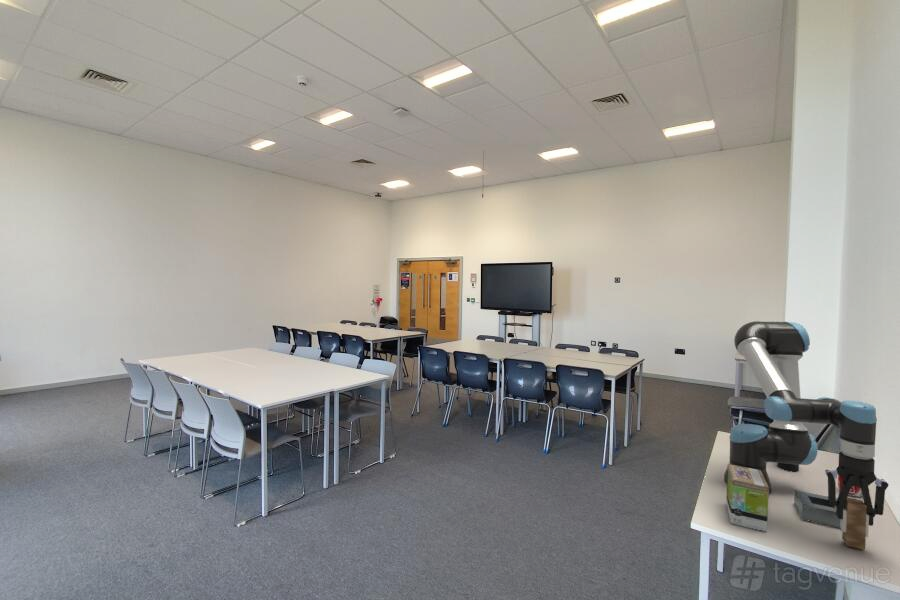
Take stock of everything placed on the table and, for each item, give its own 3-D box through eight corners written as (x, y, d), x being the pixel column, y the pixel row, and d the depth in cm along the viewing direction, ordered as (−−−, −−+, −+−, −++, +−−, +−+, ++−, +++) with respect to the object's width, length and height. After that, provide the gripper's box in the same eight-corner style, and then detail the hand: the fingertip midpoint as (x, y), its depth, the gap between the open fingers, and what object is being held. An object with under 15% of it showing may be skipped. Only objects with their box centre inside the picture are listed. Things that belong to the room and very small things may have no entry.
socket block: (801, 519, 136) (802, 504, 136) (794, 503, 146) (794, 490, 146) (850, 530, 130) (851, 515, 130) (839, 513, 140) (839, 498, 140)
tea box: (768, 533, 128) (769, 486, 128) (730, 524, 133) (731, 479, 133) (760, 511, 142) (761, 468, 141) (725, 503, 146) (726, 462, 146)
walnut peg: (846, 545, 121) (848, 502, 121) (842, 538, 125) (843, 496, 124) (865, 550, 119) (866, 506, 119) (860, 542, 123) (861, 500, 122)
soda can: (869, 499, 150) (870, 466, 150) (846, 497, 152) (847, 465, 151) (854, 490, 157) (855, 459, 157) (832, 488, 158) (833, 457, 158)
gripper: (821, 453, 122) (819, 529, 123) (903, 465, 114) (900, 548, 114) (815, 444, 129) (813, 517, 129) (891, 456, 120) (888, 534, 121)
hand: (853, 532), depth 122 cm, fingers closed on walnut peg, 4 cm apart
